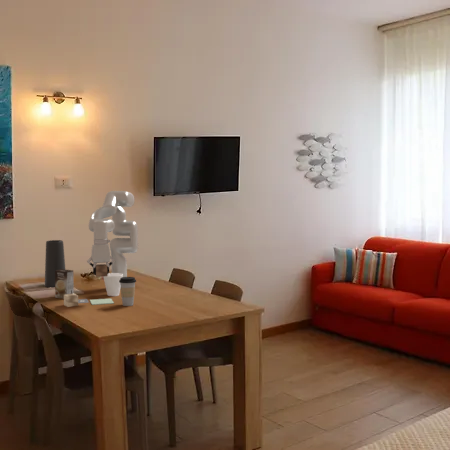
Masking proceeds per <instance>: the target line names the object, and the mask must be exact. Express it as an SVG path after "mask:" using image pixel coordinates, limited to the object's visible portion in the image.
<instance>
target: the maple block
mask: <svg viewBox="0 0 450 450" xmlns="http://www.w3.org/2000/svg"><path fill="white" fill-rule="evenodd" d="M78 300H79V295H78V294H76V293H74V294H65V295H64V299H63V305H64V306H65V307H66V308H70V307H79V303H78Z"/></svg>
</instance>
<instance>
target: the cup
mask: <svg viewBox="0 0 450 450" xmlns="http://www.w3.org/2000/svg"><path fill="white" fill-rule="evenodd" d="M122 277H123V274H121V273H112V272H109V273H108V274H107V276H102V278H103V281H104V286H105V290H106V291H105V292H106V295H107V296H109V297H118V296H120V294H121V289H120V287H121V286H120V282H119V280H120V278H122Z"/></svg>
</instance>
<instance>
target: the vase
mask: <svg viewBox="0 0 450 450" xmlns="http://www.w3.org/2000/svg"><path fill="white" fill-rule="evenodd" d="M65 260H66V258H65V247H64V240H63V239H62V240H60V239H59V240H58V239H53V240H52V239H51V240H46V241H45V262H44V263H45V264H44V266H45V269H44V287H45V288H50V287H55V271H56V270H60V269H65V270H66V261H65Z"/></svg>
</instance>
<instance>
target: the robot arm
mask: <svg viewBox="0 0 450 450" xmlns="http://www.w3.org/2000/svg"><path fill="white" fill-rule="evenodd" d="M134 204H135V196H134V194H133V193H132V192H130V191H127V190H111V191H108V192H107V193H106V194H105V198H104V199H103V204H102V206H101V207H98V208H97V209H96V210H95V211H93V212H92V213H91V216H90V218H89V221H88V230H89V231H90V232H92V233H93V244H92V246H91V255H90V257H89V258H88V259H87V260H86V262H87V264H88V265H90V266H91V267H92V273H93V274H94V275H95V276H96V267H95V266H96V264H98V263H99V264H100V263H101V264H106V265H107V274H108V273H110V267H111V273H121V274H123V277H128V260H127V258H126V256H125V255H124V254H134V253H137V252H138V249H139V247H138V246H139V226H138V223H137V222H136V221H134V220H127V217H126V216H127V212H126V211H125V209H124V208H132V207H133V206H134ZM109 217H111V218H109ZM110 232H112V235H114V236H116V237H115V238H112V239H108V233H110ZM117 236H118V237H117ZM119 236H120V237H119ZM123 236H124V237H123ZM126 236H127V237H126ZM120 290H121V288H120Z"/></svg>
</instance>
